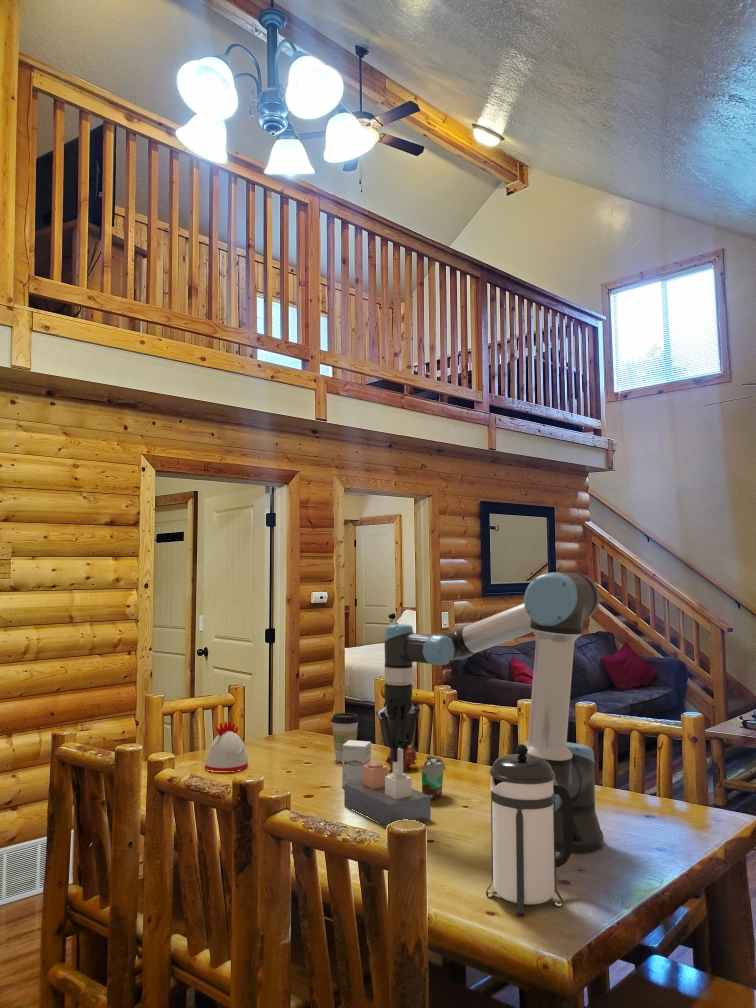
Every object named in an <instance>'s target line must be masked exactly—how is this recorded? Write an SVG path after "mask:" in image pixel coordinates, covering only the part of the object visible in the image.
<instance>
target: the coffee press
mask: <svg viewBox="0 0 756 1008" xmlns="http://www.w3.org/2000/svg"><path fill="white" fill-rule="evenodd" d="M523 744H524V743H521V744H518V745H517V746H516V748H515V752H516V753H515V754H513V753H512V754H505V755H503V756H500V757H498V758H496V759H495V761H493V764H492V767H490V768H489V774H490V785H489V788H490V799H491V800H490V811H491V812H490V822H491V823H490V825H491V826H490V827H491V828H490V830H491V833H490V835H491V836H490V837H491V839H490V840H491V842H490V843H491V883H490V884H489V885H488V887H487V888H486V891H485V895H486V896H487V897H488V893H489V890H490V889H491V887H492V885H493V888H494V892H493V893H492V894H493V895H492V896H493V897H494V896H495V895H496V894H497V895H498V896H500V897H501V898H503V899H504V900H506V901H509V902H511V903H515V904H516V916H517V915H519V916H518V917H522V916H524V917H525V910H526V909H525V908H526V905H539V904H542V903H546V902H548V901H549V900H550V901H551V902H552V903H553V904H554V905H555V903H556V902H557V901H556V899H555V898H554V897H553V896H554V895H555V894H556V896H557V897H558V898H559V900H560V901H561V902H562V905H563V904H564V898H563V897H562V895H561V894H560V892H559V891H558V888H557V887H558V886H557V868H560V867H562V866H563V865H565V864H566V863H567V862H568V861H569V859H570V856H571V855H572V853H571V852H572V847H573V816H572V802H571V797H570V795H569V793H568V791H567V790H566V789H565V788H564V787H562V786H559V785H553V781H554V779H555V772H554V771H553V770H552V767H551V765H550V764H549V763H548V762H547V761H546V760H544V759H542V758H540V757H536V756H532V755H526V754H527V751H528V750H527V747H526V746H525V745H523ZM555 794H558V795H559V796H560V797H561V800H562V805H563V848H562V851H560V853H559V854H558V855H557V853H556V851H557V850H556V839H555ZM554 845H555V850H554Z"/></svg>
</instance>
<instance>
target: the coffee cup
mask: <svg viewBox="0 0 756 1008" xmlns="http://www.w3.org/2000/svg"><path fill="white" fill-rule="evenodd" d="M330 722H331V724H332V735H333V736H332V737H333V747H334V754H335V755H334V756H335V760H336V762H340V763H343V745H344V744H345V743H346V742H347V741H348V740H354V741H357V737H358V724H359V723H360V719H359V717H358V714H357V713H351V712H350V713H349V712H343V713H342V712H341V713H339V712H338V713H335V714H333V716H332V717H331V720H330Z"/></svg>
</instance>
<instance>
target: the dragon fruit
mask: <svg viewBox="0 0 756 1008" xmlns="http://www.w3.org/2000/svg"><path fill="white" fill-rule="evenodd" d="M385 762H386V763H387V764H388V765H389V768H390V770H391V771H393V761H391V749H390V750H389V753H388V756H387V759H386V761H385ZM416 764H417V750H415V748H413V746H411V745H408V748H407V749H405V760H403V772H405V771H406V770H408V769H409V770H410V768H411V766H414V765H416Z"/></svg>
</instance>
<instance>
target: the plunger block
mask: <svg viewBox="0 0 756 1008" xmlns="http://www.w3.org/2000/svg"><path fill="white" fill-rule="evenodd" d="M343 788H344V795H343V796H344V797H343V799H344V800H343V802H344V805H345V806H347V807H349V808H351V809H353V810H355V811H357V812H359V813H361V814H363V815H365V816H368V817H369V818H371V819H373V820H375V821H377V822H379V823H380V824H381V825H380V824H379V825H380V826H382V825H383V826H382V827H384V826H385V828H386V826H387V825H388V824H390V823H392V822H394V821H397V820H403V819H408V820H416V821H419V823H424V822H427V821H431V818H432V817H431V816H432V815H431V813H432V811H431V802H432V801H431V799H430V796H429V795H426V794H424V793H422V791H420V790H417V789H414V788H413V787H411V796H410V797H405V798H401V799H393V798H391V797H389V796H387V795H385V787H380V788H375V789H371V788H369V787H367V786H364V785H362V781H357V782H351V783H346V784H345V786H344V787H343ZM344 805H343V806H344ZM345 806H344V807H345ZM347 807H346V808H347ZM349 808H348V809H349ZM351 809H350V810H351ZM353 810H352V811H353ZM355 811H354V812H355ZM357 812H356V813H357ZM359 813H358V814H359ZM361 814H360V815H361ZM363 815H362V816H363ZM365 816H364V817H365ZM369 818H368V819H369Z"/></svg>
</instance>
